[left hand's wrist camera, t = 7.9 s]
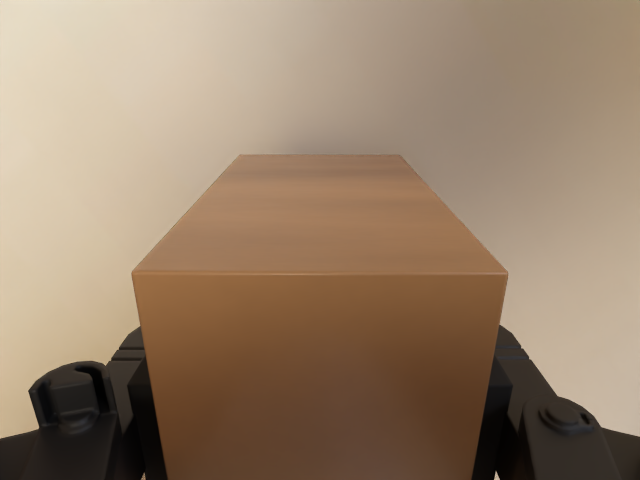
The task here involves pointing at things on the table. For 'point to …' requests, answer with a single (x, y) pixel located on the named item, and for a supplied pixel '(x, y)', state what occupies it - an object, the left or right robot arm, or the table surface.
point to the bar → (319, 325)
